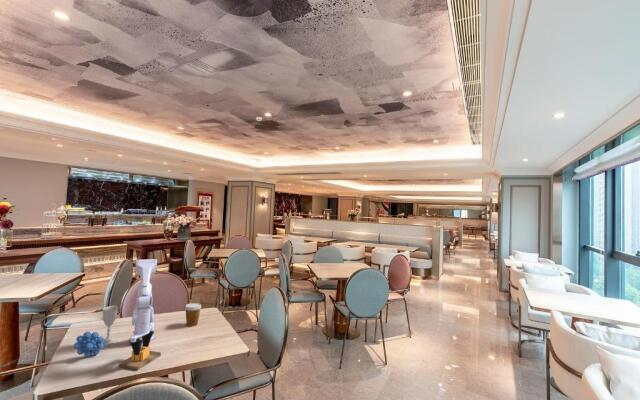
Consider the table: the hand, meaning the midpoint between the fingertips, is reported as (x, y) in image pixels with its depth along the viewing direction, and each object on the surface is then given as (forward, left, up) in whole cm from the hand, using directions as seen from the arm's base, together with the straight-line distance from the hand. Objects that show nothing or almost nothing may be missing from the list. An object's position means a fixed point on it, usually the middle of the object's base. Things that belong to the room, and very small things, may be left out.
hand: (141, 351), depth 140 cm
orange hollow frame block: (0, 0, -3) cm, 3 cm away
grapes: (+4, -25, -5) cm, 26 cm away
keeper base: (0, 0, -5) cm, 5 cm away
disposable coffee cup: (-45, -4, -5) cm, 45 cm away
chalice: (-11, -30, -5) cm, 32 cm away
